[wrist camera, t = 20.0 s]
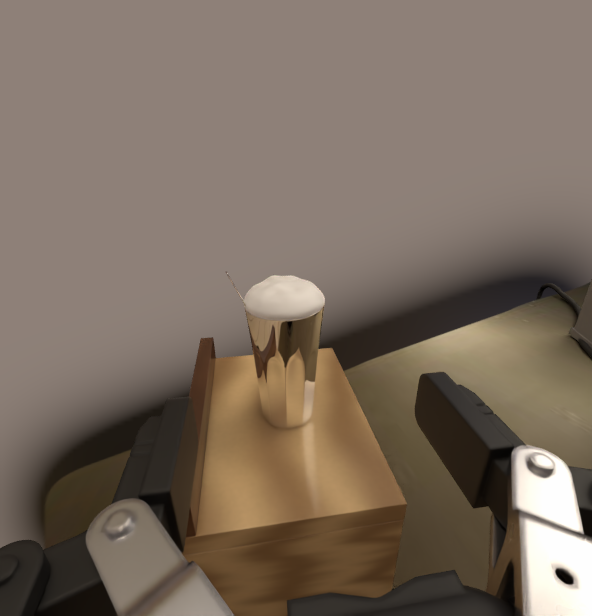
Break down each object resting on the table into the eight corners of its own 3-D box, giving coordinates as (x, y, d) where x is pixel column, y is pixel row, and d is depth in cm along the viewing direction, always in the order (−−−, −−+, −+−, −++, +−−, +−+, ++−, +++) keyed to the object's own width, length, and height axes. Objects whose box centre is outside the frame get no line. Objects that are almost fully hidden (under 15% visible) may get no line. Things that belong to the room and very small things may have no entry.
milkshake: (235, 400, 24) (220, 260, 20) (308, 385, 26) (308, 252, 21) (248, 448, 20) (232, 286, 16) (333, 427, 22) (339, 273, 18)
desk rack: (328, 449, 35) (332, 327, 30) (384, 634, 22) (412, 474, 16) (218, 464, 34) (200, 338, 28) (205, 671, 20) (165, 509, 15)
